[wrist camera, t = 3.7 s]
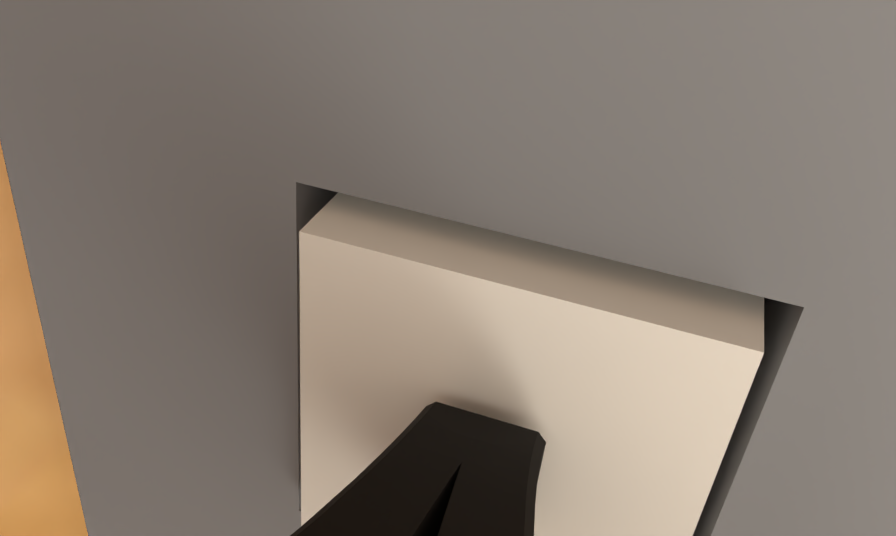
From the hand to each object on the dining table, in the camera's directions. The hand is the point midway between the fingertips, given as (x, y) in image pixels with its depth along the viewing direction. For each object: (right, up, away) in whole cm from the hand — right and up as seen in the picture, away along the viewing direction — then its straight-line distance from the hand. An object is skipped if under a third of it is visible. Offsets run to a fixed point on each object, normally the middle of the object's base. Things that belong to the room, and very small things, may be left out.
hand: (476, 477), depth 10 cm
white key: (+1, +2, +3) cm, 3 cm away
